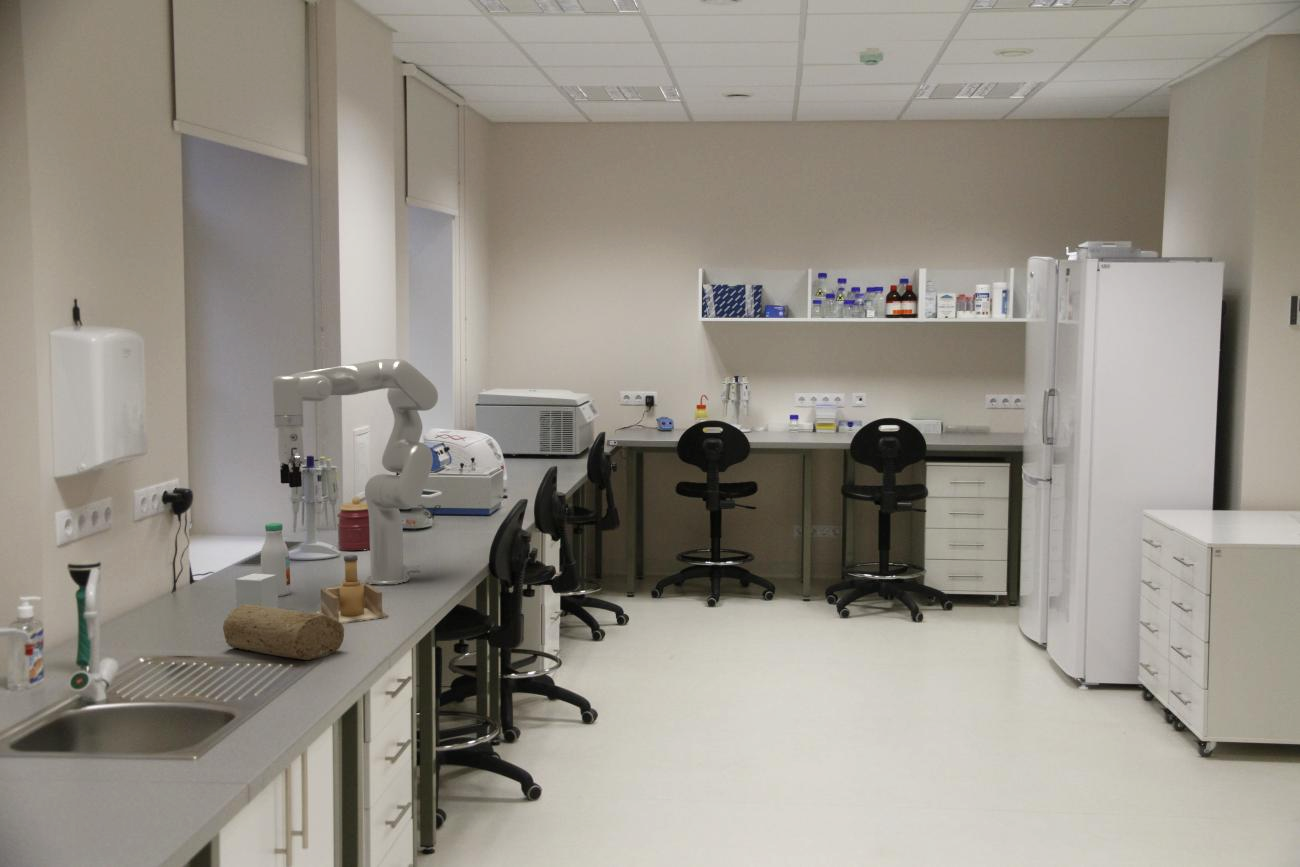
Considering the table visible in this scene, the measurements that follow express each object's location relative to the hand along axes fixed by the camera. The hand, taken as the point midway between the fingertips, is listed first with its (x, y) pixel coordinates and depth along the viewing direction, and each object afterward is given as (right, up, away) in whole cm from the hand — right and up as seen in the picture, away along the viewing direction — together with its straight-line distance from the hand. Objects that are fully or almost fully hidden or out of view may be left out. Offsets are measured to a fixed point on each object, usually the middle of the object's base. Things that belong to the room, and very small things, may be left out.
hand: (291, 485), depth 319 cm
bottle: (+20, -33, -13) cm, 40 cm away
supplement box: (-1, -35, -22) cm, 41 cm away
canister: (-3, -26, +85) cm, 89 cm away
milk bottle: (-8, -32, +14) cm, 35 cm away
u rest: (+20, -33, -13) cm, 41 cm away
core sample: (+12, -37, -46) cm, 60 cm away
